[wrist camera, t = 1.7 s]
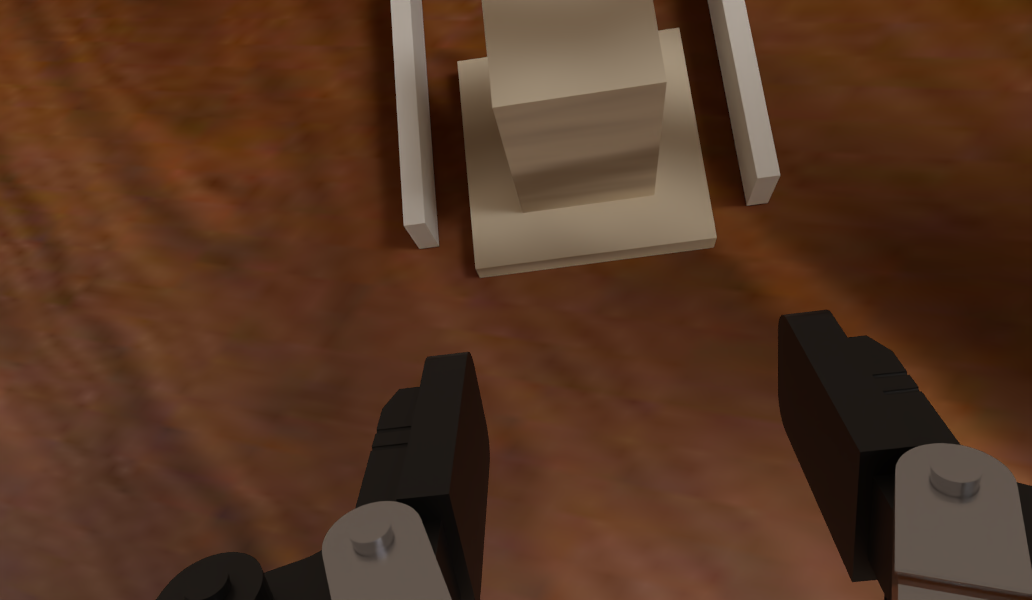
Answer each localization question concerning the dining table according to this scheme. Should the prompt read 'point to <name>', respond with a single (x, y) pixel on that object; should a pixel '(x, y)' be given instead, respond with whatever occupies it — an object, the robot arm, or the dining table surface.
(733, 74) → the ladder rail frame
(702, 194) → the pawn block
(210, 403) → the dining table surface
